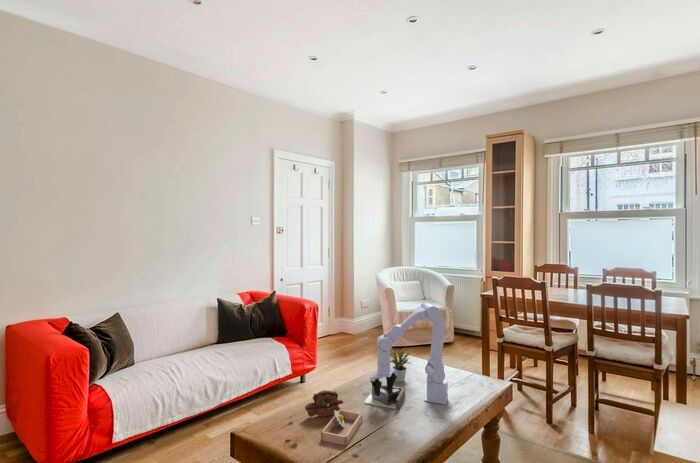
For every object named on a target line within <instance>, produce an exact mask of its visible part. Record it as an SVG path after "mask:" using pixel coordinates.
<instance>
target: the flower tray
mask: <svg viewBox="0 0 700 463" xmlns="http://www.w3.org/2000/svg"><path fill="white" fill-rule="evenodd" d="M337 412H338V413H339V414H340V415H342V416H343V417H344V419H345V420H350V421H354V422H353V423H352V425H351V426H350V427H349V429H348V431H347V432H346V434H345V435H343V434H338V433H333V432H331V431H332V430H333V428H334V427H335V426H336V425H337V423H338V422H336V423H335V421H336V417H335V416H336V415H335V414H334V416H333V417H331V419H330V421H329V422H328V423H327V424H326V425H325V426H324V427H323V429H322V430H321V432H320V440H321V441H322V442H323V441H324V442H327V443H333V444H337V445H342V446H347V445H349V442H350V441H351V439H352V438H353V436H354V434H355V433H356V431H357V430H358V429H359V426H360V425H361V424H362V422H363V413H362V412H361V413H360V412H355V411H350V410H345V409H341V408H340V409H339V410H338V411H337Z"/></svg>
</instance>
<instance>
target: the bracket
mask: <svg viewBox="0 0 700 463" xmlns="http://www.w3.org/2000/svg"><path fill="white" fill-rule="evenodd" d="M371 392H372V398H373V399H375V400H377V401H379V402H381V403H383V404H385V405H387V406H389V405H391V404H394V403H396V399H397V397H398V395H399V390H398V389H396V388H395V389H393V390H390V391H386V390H384V389H382V388H380V396H376V395H375V391H374V388H373V387H372V386H371Z"/></svg>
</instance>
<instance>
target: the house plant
mask: <svg viewBox="0 0 700 463" xmlns="http://www.w3.org/2000/svg"><path fill="white" fill-rule="evenodd" d="M390 352H392V354H393V355H392V354H391V353H390V357H392V359H391V360H390V363H393V364H394V366H392V369H393V368H394V369H396V374H395V375H396V376H397V378H396V380H395V382H397V383H403V382H404V381H405V379H406V375H407V373H406V372H407V367H406V366H405V365H406V364H410V365H412V362H410V361H409V359H410V357H409V356H413V351H409V352H408V353H406V354H405V355H404V348H402V350H401V351H400V350H399V348H397V353H396V352H395V351H394V350H393V349H392V348H391V349H390ZM397 354H398V355H397Z"/></svg>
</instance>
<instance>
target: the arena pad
mask: <svg viewBox="0 0 700 463" xmlns="http://www.w3.org/2000/svg"><path fill="white" fill-rule="evenodd" d="M363 403H364V404H366V405H371V406H376V407H377V406H378V407H384V408H388V409H394V410H397V409H396V403H394V404H391V405H389V406H387V405H385V404H383V403H381V402H379V401H377V400H375V399H373V398H372V391H370V393H369V395H368V396H367V397H366V398H365V400H364V402H363Z"/></svg>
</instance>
